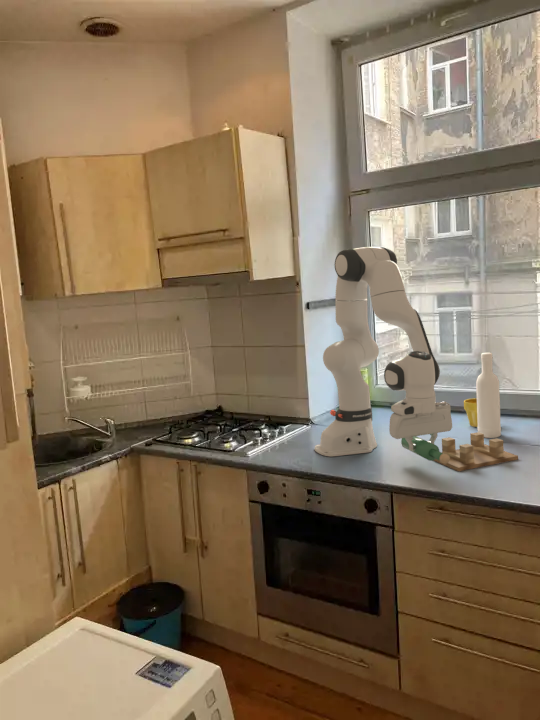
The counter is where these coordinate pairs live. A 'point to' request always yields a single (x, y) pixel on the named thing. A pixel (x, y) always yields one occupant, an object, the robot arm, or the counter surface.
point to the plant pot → (471, 411)
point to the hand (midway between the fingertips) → (421, 448)
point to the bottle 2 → (488, 399)
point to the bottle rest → (475, 453)
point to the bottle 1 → (426, 450)
